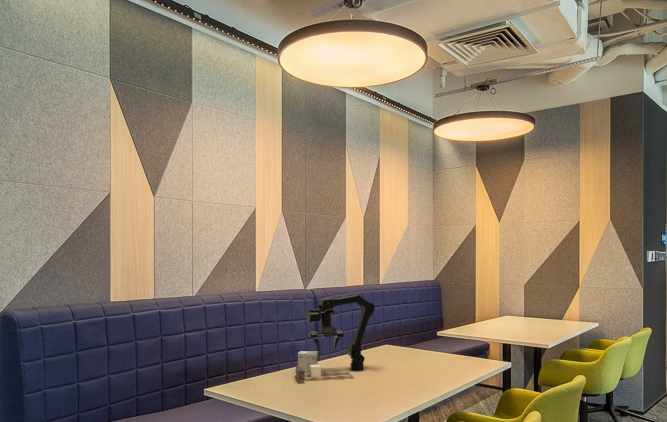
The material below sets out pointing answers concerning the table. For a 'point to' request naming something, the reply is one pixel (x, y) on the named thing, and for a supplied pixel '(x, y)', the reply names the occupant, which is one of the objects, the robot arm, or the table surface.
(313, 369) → the cream white cube
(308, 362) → the light bulb box
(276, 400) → the table surface
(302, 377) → the track board
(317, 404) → the table surface
